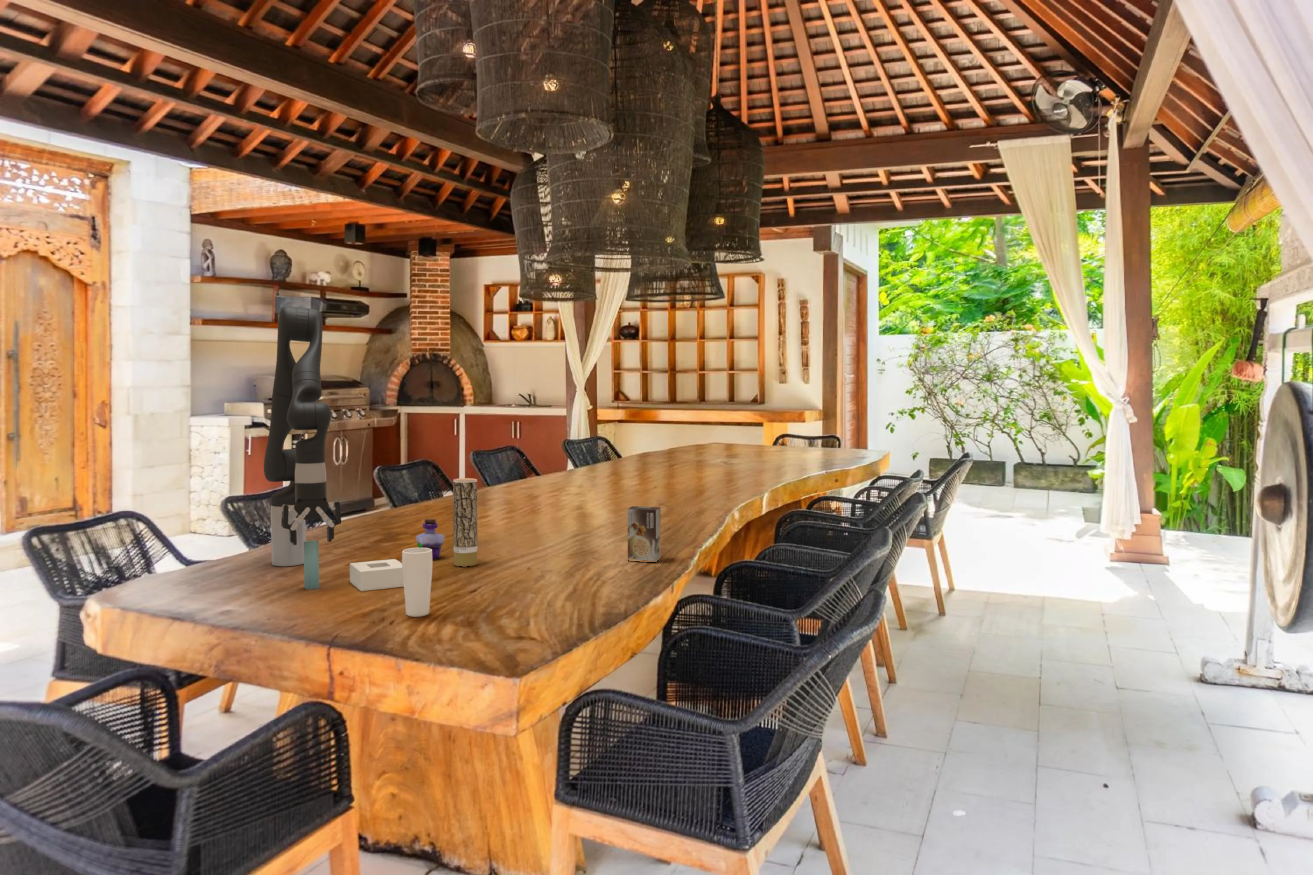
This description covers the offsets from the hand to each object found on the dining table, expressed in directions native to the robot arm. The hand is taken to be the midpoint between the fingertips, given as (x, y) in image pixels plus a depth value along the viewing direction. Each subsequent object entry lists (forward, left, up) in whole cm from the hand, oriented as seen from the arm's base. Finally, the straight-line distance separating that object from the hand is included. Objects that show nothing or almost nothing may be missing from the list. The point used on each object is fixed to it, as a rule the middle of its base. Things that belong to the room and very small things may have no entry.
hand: (312, 543), depth 234 cm
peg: (0, 0, -12) cm, 12 cm away
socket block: (+4, +16, -12) cm, 20 cm away
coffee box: (+11, +93, -12) cm, 94 cm away
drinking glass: (+39, +16, -12) cm, 44 cm away
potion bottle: (-22, +38, -12) cm, 45 cm away
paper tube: (-8, +44, -12) cm, 46 cm away
